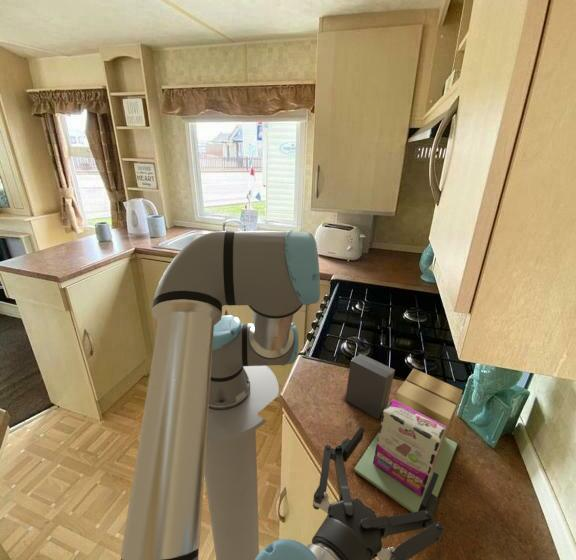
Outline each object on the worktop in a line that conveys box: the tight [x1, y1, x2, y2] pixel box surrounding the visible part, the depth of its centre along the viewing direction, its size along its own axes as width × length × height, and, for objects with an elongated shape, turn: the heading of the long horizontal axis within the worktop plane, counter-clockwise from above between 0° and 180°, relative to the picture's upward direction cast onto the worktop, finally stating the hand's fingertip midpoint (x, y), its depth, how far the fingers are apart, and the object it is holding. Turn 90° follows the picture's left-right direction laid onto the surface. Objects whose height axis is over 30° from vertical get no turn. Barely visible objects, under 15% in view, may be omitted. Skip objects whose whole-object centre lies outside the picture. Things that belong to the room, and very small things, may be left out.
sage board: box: [353, 431, 458, 513], centre depth 73 cm, size 16×22×1 cm
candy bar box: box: [373, 398, 446, 497], centre depth 65 cm, size 11×5×16 cm, turn 50°
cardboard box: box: [394, 368, 464, 471], centre depth 73 cm, size 11×10×16 cm
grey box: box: [344, 353, 396, 420], centre depth 84 cm, size 10×6×14 cm, turn 50°
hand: (395, 453), depth 57 cm, fingers open, 13 cm apart
